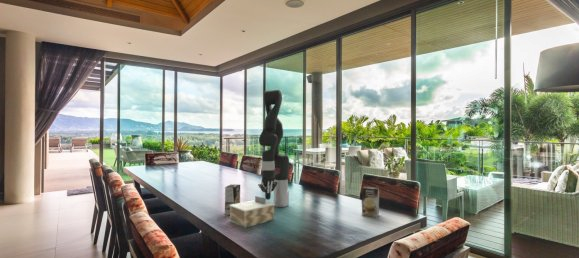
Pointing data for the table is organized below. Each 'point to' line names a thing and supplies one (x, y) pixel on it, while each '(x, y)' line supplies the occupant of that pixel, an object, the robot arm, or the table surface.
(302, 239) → the table surface
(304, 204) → the table surface
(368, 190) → the coffee box
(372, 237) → the table surface
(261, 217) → the wooden box
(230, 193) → the coffee box
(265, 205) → the lid
